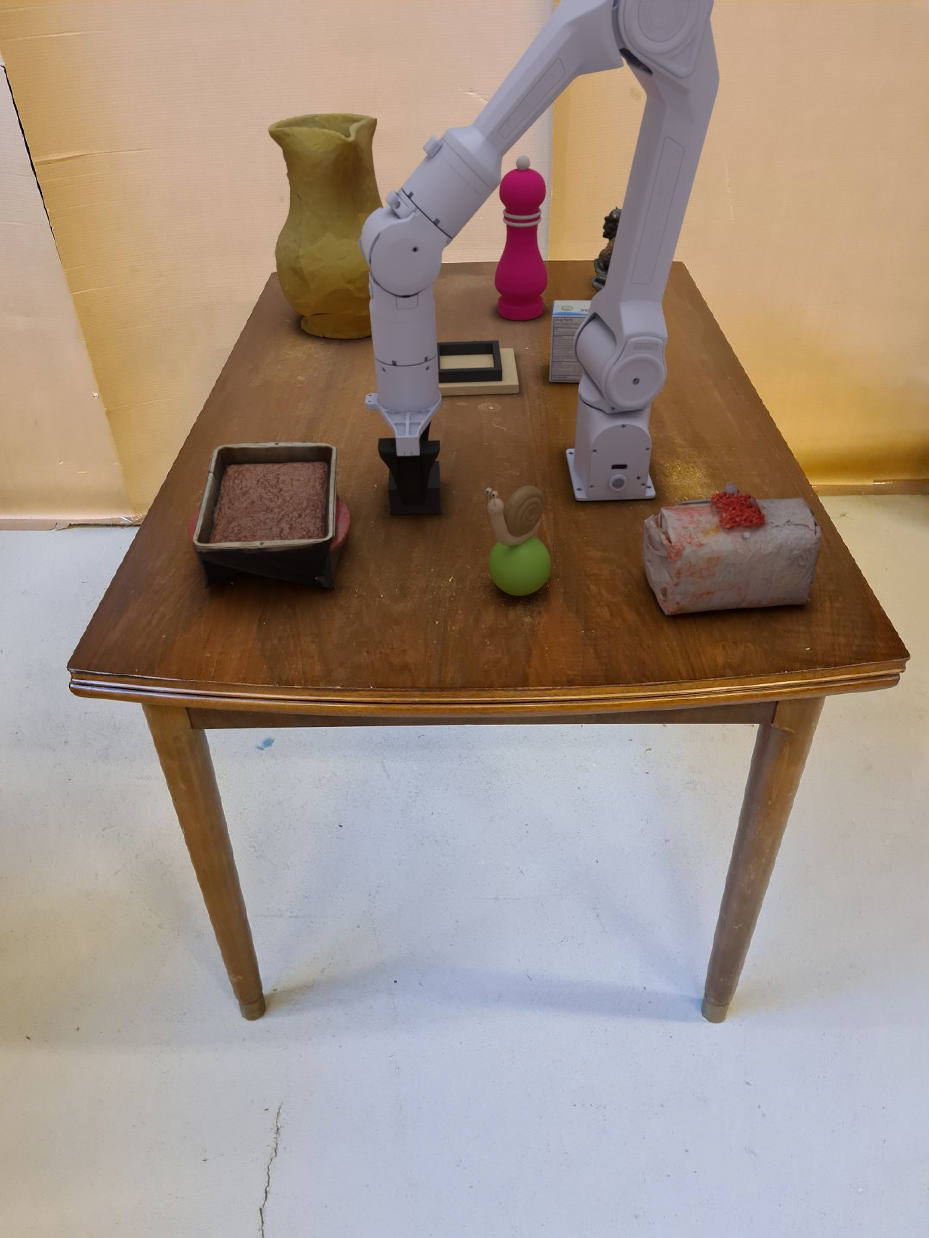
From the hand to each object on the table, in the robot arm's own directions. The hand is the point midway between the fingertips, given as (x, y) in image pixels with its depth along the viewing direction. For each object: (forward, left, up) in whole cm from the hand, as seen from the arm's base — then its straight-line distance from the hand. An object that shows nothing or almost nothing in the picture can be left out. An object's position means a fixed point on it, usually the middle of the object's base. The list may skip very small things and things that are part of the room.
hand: (414, 481), depth 90 cm
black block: (0, 0, -2) cm, 2 cm away
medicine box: (+26, -20, -2) cm, 33 cm away
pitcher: (+46, +10, -2) cm, 47 cm away
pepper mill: (+46, -14, -2) cm, 48 cm away
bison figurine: (+52, -28, -2) cm, 59 cm away
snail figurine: (-15, -9, -2) cm, 18 cm away
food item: (-16, -27, -2) cm, 32 cm away
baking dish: (-8, +13, -2) cm, 15 cm away
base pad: (+27, -6, -2) cm, 28 cm away
